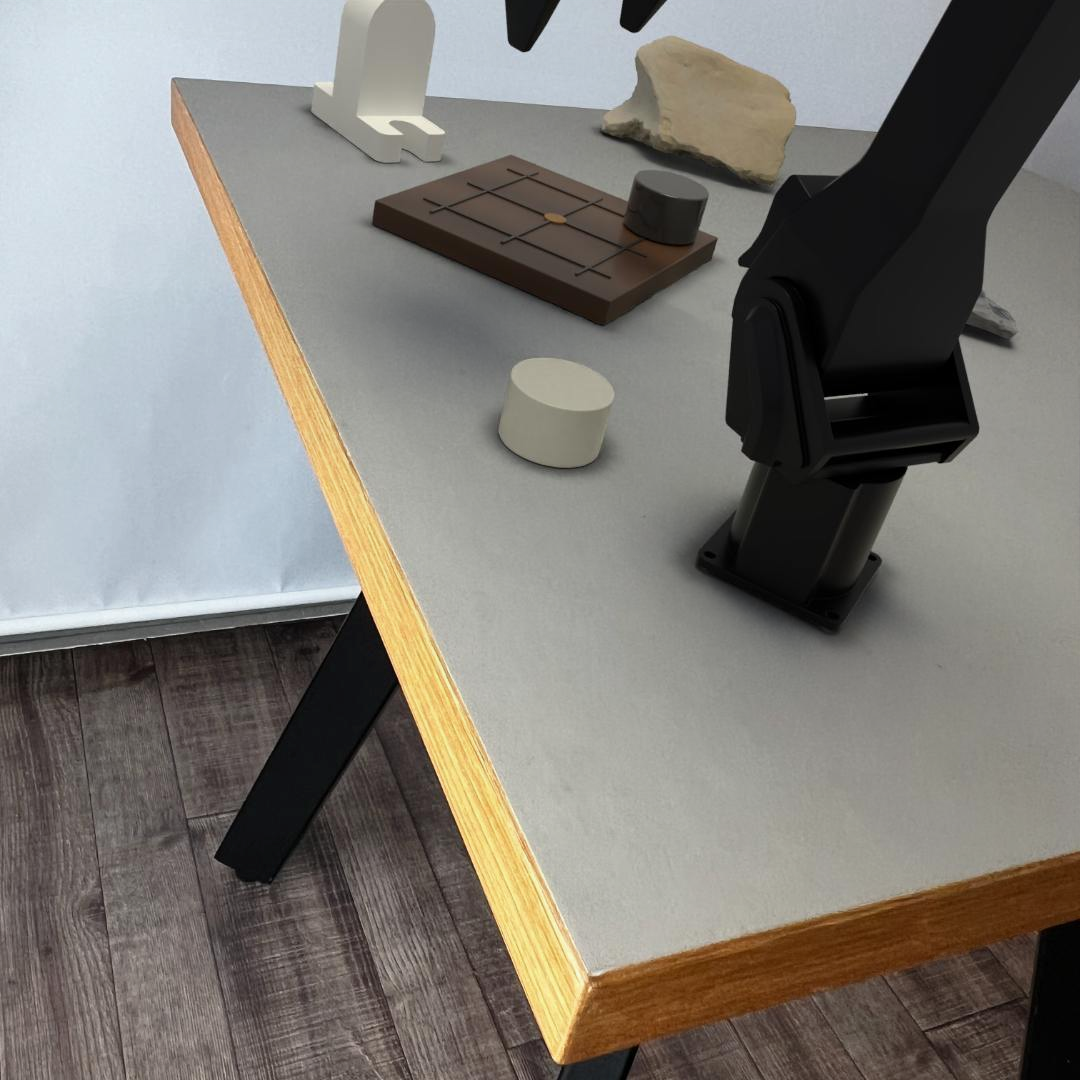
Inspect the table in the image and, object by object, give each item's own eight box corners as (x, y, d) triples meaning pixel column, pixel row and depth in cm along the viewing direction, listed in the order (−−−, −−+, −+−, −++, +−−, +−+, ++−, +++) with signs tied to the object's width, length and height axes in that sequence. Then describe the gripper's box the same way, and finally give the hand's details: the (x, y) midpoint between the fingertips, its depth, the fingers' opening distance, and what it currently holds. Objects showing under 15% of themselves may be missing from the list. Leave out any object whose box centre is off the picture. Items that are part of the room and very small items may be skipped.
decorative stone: (604, 121, 102) (629, 18, 98) (774, 166, 102) (807, 65, 98) (592, 147, 96) (618, 38, 91) (773, 197, 95) (809, 89, 91)
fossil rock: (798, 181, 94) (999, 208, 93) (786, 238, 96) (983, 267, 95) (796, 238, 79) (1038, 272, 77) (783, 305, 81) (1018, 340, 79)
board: (603, 326, 69) (610, 299, 68) (371, 224, 74) (375, 198, 73) (711, 258, 81) (719, 235, 80) (506, 175, 86) (511, 152, 85)
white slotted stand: (371, 109, 92) (391, -34, 86) (444, 161, 86) (470, 10, 80) (308, 109, 89) (324, -40, 83) (378, 162, 83) (400, 6, 77)
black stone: (677, 251, 77) (691, 205, 75) (610, 224, 78) (622, 178, 76) (707, 234, 80) (720, 190, 79) (642, 208, 82) (654, 164, 80)
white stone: (569, 480, 55) (585, 422, 53) (478, 436, 56) (491, 378, 55) (616, 442, 58) (632, 387, 57) (530, 402, 60) (543, 346, 58)
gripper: (653, -369, 60) (564, -39, 70) (387, -433, 47) (323, -17, 57) (845, -291, 56) (722, 46, 66) (614, -337, 43) (503, 91, 53)
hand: (576, 38), depth 61 cm, fingers open, 9 cm apart
